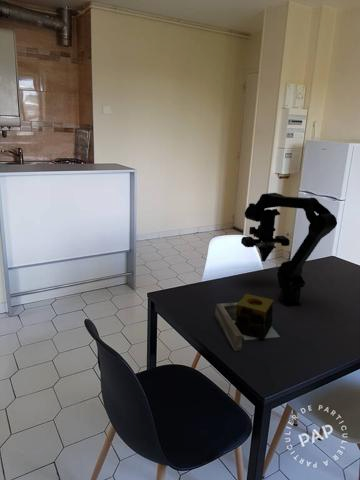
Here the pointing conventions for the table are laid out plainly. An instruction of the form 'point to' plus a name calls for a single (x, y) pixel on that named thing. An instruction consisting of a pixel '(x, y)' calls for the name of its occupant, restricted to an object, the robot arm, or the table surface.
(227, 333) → the arena
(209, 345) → the table surface
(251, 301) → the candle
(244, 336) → the mat
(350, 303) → the table surface
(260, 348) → the table surface
